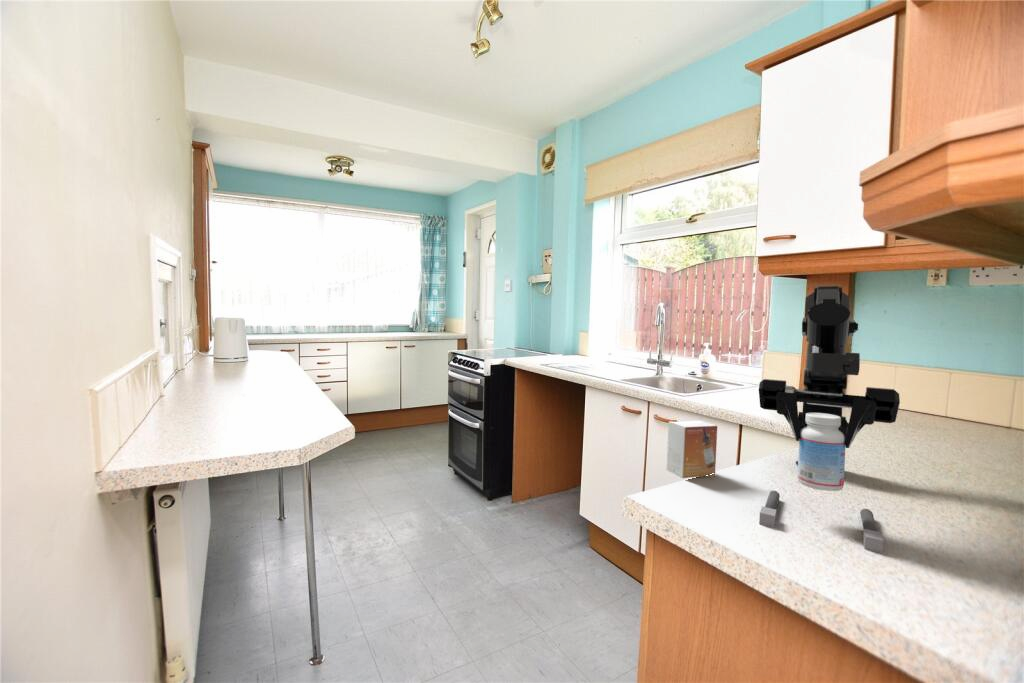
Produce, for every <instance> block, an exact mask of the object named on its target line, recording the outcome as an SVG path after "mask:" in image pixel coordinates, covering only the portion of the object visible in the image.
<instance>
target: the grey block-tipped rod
mask: <svg viewBox="0 0 1024 683" xmlns="http://www.w3.org/2000/svg"><path fill="white" fill-rule="evenodd" d="M779 501H780V493H779V491H776V490H770V492H769V494H768V497H767V499H766V502H765V505H764V506H761V509H760V511H759V521H758V522H759V525H762V526H766V527H770V528H775V526H776V520H777V519H776V518H777V508H778V504H779Z"/></svg>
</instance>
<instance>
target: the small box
mask: <svg viewBox="0 0 1024 683" xmlns="http://www.w3.org/2000/svg"><path fill="white" fill-rule="evenodd" d="M667 426H668V427H667V452H666V471H668V473H669V472H670V473H672V474H673V475H675V476H677V477H680V478H681V479H689V478H703V476H705V477H704V478H707V477H709V478H710V477H711V478H712V477H715V475H716V463H717V462H716V461H717V444H718V443H717V440H718V425H717V424H716V425H715V424H713V423H709V422H707V421H703V420H701V419H699V420H698V419H697V420H687V421H686V420H685V421H668V425H667ZM712 473H715V474H712ZM710 474H712V475H710ZM706 475H708V476H706Z"/></svg>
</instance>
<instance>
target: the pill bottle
mask: <svg viewBox="0 0 1024 683" xmlns="http://www.w3.org/2000/svg"><path fill="white" fill-rule="evenodd" d="M805 421H806V423H807V427H804V428H802V429H801V431H800V435H799V441H798V454H797V455H798V458H797V459H798V460H797V461H798V464H797V481H798V482H799V483H800V484H802V485H803V486H805V487H807V488H810V489H814V490H818V491H827V492H828V491H831V492H838V491H841V490H843V489H844V486H845V464H846V462H845V461H846V438H845V435H844V434H843V433H842V432H841V431H839V430H838V427H840V425H841V417H840V416H837V415H832V414H826V413H806V417H805Z"/></svg>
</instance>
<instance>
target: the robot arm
mask: <svg viewBox="0 0 1024 683" xmlns="http://www.w3.org/2000/svg"><path fill="white" fill-rule="evenodd" d="M804 300H805V304H804V317H803V318H802V321H801V334H802V336H804V337H806V342H807V347H806V359H805V360H806V361H805V369H804V372H803V389H799V388H796V387H795V386H793V385H787V380H781V379H780V380H779V379H769V378H764V379H762V380H761V381H760V382H759V386H758V398H759V407H760V408H761V409H762V410H768V411H776V413H777V414H778V415H783V417H784V418H785V420H786V421H787V422H788V425H789V426H790V429H791V431H792V434H793V436H794V439H795V441H796V442H799V435H800V431H801V429H802V428H804V427H807V423H806V421H805V417H806V413H826V414H832V415H837V416H840V417H841V425H840V427H838V430H839V431H841V432H842V433H843V434H844V435H845V438H846V446H845V449H849V448H851V445H852V443H853V442H854V440H855V438H856V436H857V435H858V433H859V432H860V431H861V430H862V429H863V428H864V427H865V426H866V425H873V424H874V423H876V422H877V423H884V424H885V423H886V424H893V423H896V420H897V416H898V412H899V409H900V404H901V400H900V393H898V391H896V390H895V389H894V388H885V387H874V386H873V387H871V386H867V387H865V394H864V395H855V394H854V395H853V394H846V390H847V386H848V376H858V375H859V374H860V368H861V367H860V363H861V361H860V359H861V358H860V356H861V355H860V353H859V352H847V346H846V344H847V342H848V339H849V338H853V336H854V333H856V332H858V331H859V323H857V322H856V321H855V320H854V318H853V317H851V312H850V311H851V309H850V308H851V297H850V296H849V295H848V294H846V293H845V292H843V286H839V285H818V286H816V287H814V290H813V292H812V293H810V294H808V295H807V296H805V299H804ZM798 403H802V411H799V409H798V408H799V407H798ZM843 408H844V409H845V408H846V409H851V411H850V416H849V420H847V417H846V416H843ZM795 464H796V465H798V460H796V461H795Z"/></svg>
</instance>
